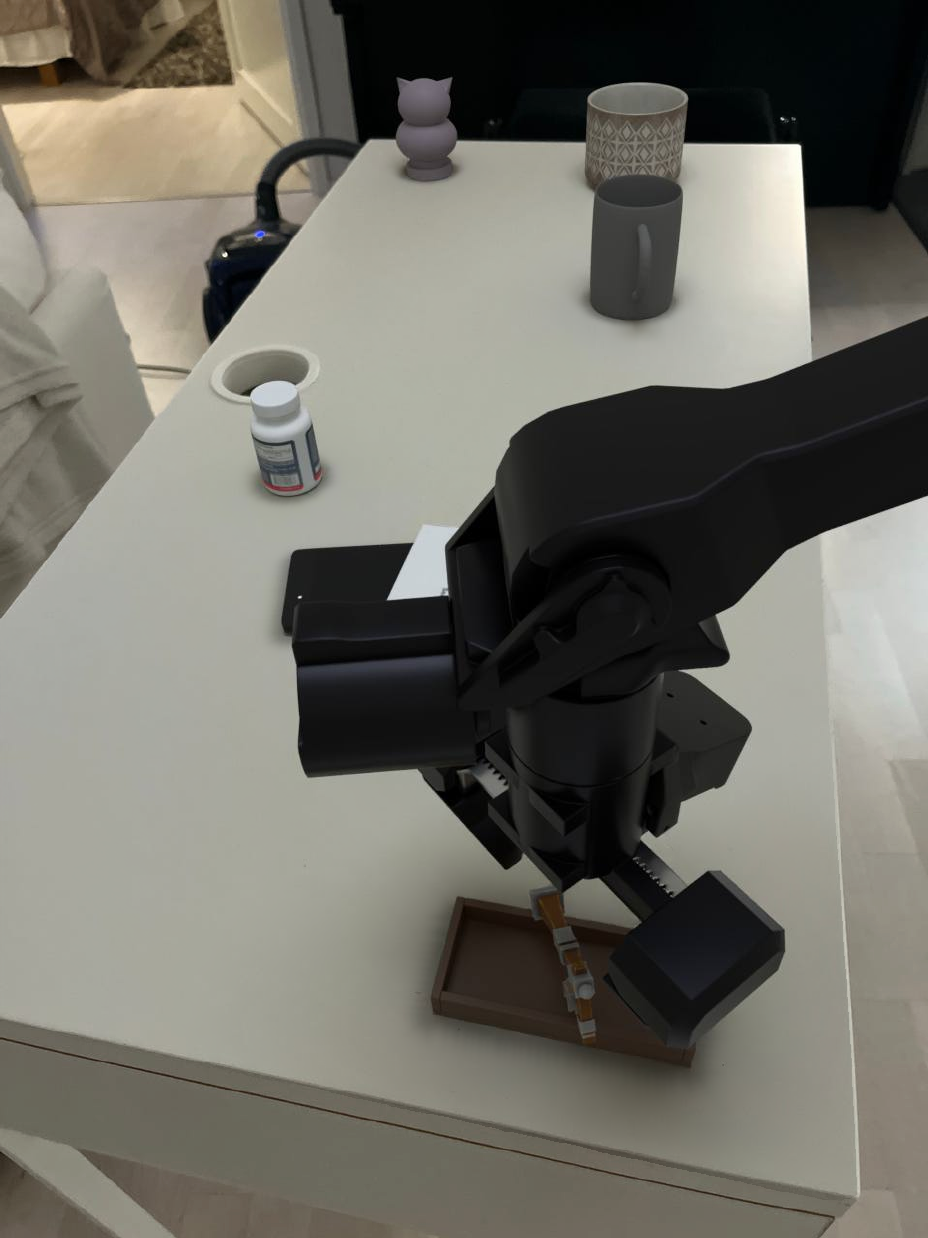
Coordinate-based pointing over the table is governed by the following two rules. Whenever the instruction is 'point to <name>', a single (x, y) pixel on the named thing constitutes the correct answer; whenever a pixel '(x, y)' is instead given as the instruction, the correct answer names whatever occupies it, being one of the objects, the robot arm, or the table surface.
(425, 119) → the cat figurine
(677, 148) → the planter
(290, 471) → the pill bottle
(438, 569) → the ink box
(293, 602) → the cell phone
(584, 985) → the wooden post with brackets
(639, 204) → the mug
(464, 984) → the walnut tray
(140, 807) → the table surface
